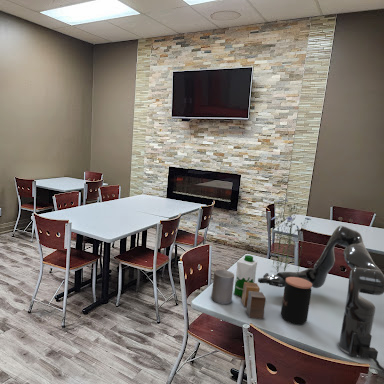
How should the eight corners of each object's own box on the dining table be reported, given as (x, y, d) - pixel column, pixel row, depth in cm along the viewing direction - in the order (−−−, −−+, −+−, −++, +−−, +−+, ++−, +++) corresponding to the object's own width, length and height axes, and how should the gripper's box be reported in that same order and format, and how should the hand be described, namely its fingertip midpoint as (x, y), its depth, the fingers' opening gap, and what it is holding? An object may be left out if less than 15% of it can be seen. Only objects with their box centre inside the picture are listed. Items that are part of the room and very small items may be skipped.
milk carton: (254, 294, 174) (259, 257, 171) (248, 300, 168) (252, 262, 165) (238, 289, 180) (242, 253, 177) (231, 294, 173) (235, 257, 170)
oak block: (257, 308, 160) (259, 288, 159) (244, 306, 161) (246, 287, 159) (254, 302, 166) (256, 283, 164) (241, 300, 167) (243, 281, 165)
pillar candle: (207, 295, 170) (210, 267, 167) (224, 294, 173) (227, 266, 170) (218, 305, 161) (221, 275, 158) (235, 303, 164) (239, 274, 161)
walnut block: (263, 319, 150) (265, 298, 149) (249, 317, 151) (251, 296, 149) (259, 312, 156) (262, 292, 155) (246, 310, 157) (248, 290, 155)
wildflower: (307, 280, 198) (318, 205, 191) (266, 274, 202) (276, 201, 195) (296, 266, 220) (306, 199, 213) (259, 262, 224) (268, 195, 217)
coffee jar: (284, 310, 159) (289, 274, 156) (309, 319, 153) (314, 281, 150) (277, 319, 151) (282, 281, 148) (303, 328, 144) (309, 289, 141)
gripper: (280, 267, 184) (252, 268, 180) (297, 277, 171) (267, 279, 167) (278, 280, 185) (250, 282, 181) (295, 291, 172) (266, 293, 168)
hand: (259, 280), depth 174 cm, fingers closed
